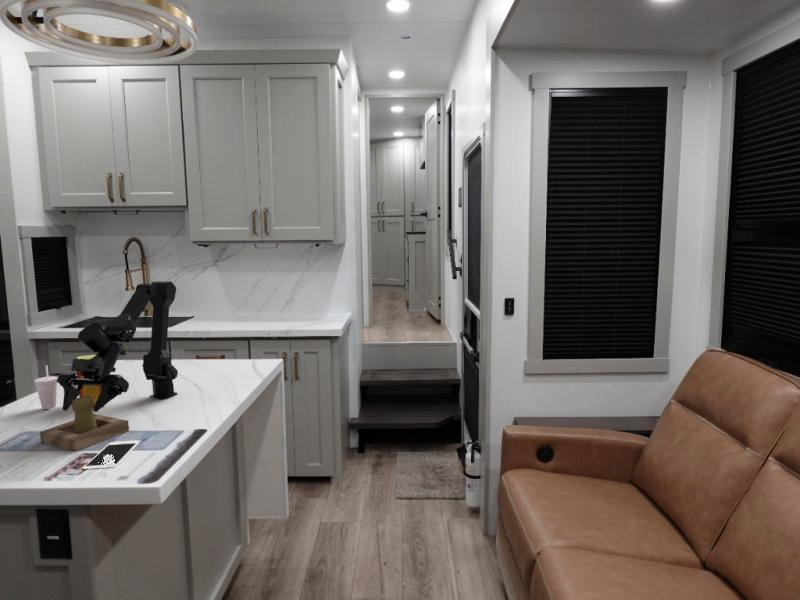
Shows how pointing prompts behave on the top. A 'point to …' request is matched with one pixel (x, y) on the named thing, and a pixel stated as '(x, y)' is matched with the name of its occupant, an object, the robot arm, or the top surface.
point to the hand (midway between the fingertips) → (79, 410)
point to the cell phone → (113, 453)
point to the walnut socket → (69, 440)
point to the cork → (83, 415)
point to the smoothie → (47, 390)
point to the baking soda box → (89, 390)
